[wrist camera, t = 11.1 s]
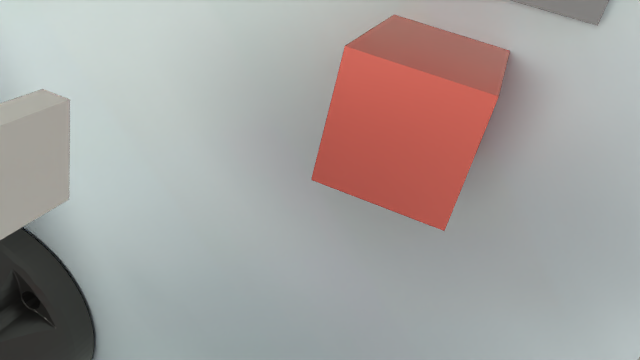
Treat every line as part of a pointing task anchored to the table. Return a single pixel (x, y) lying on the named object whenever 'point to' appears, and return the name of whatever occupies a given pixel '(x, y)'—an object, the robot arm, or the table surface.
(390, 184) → the red rectangular block
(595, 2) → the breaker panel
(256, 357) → the table surface
